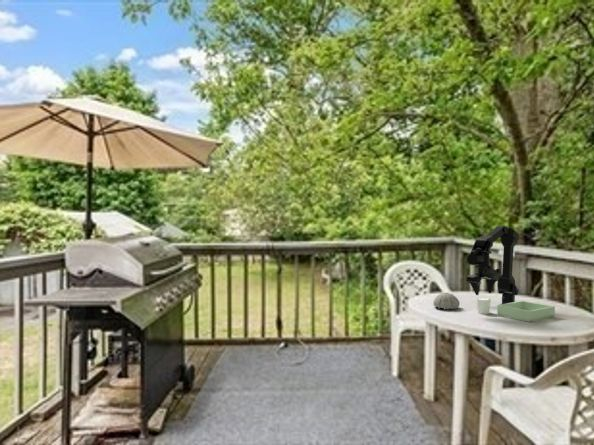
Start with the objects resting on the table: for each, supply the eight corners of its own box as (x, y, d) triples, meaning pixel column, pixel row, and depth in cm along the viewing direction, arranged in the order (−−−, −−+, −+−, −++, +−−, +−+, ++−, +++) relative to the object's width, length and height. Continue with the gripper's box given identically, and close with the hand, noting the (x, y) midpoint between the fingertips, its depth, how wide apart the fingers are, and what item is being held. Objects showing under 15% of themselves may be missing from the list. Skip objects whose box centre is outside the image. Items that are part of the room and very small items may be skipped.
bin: (521, 310, 291) (521, 300, 290) (554, 316, 275) (554, 306, 275) (497, 315, 281) (497, 305, 281) (530, 322, 266) (530, 311, 265)
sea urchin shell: (431, 305, 307) (430, 291, 307) (456, 305, 307) (456, 290, 306) (436, 311, 294) (436, 295, 294) (462, 310, 294) (462, 295, 293)
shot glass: (474, 311, 291) (474, 297, 290) (487, 311, 291) (487, 297, 291) (479, 314, 284) (479, 300, 283) (493, 313, 284) (493, 299, 284)
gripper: (483, 266, 274) (483, 298, 275) (509, 263, 284) (509, 294, 285) (465, 264, 284) (465, 295, 285) (491, 260, 293) (491, 291, 294)
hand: (483, 294), depth 287 cm, fingers open, 9 cm apart
